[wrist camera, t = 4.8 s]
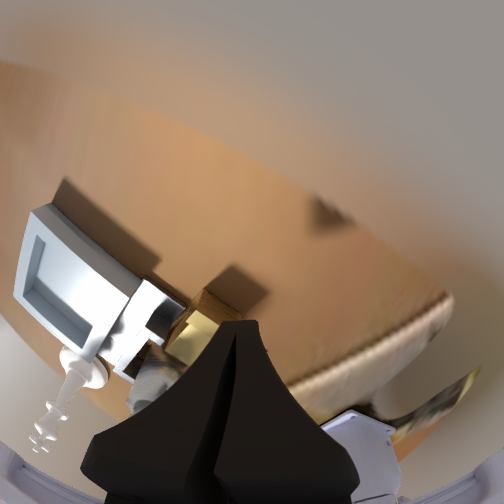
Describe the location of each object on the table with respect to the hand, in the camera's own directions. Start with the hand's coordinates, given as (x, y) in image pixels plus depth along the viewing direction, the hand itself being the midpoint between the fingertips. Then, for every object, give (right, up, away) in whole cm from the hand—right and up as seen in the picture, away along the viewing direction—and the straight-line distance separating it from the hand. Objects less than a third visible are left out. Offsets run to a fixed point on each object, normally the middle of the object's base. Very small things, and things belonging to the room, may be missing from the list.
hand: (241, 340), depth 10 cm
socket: (-5, -4, +7) cm, 10 cm away
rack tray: (-12, +1, +5) cm, 13 cm away
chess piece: (-14, -6, +9) cm, 18 cm away
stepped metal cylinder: (-5, -4, +7) cm, 10 cm away
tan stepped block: (-3, -1, +6) cm, 7 cm away
